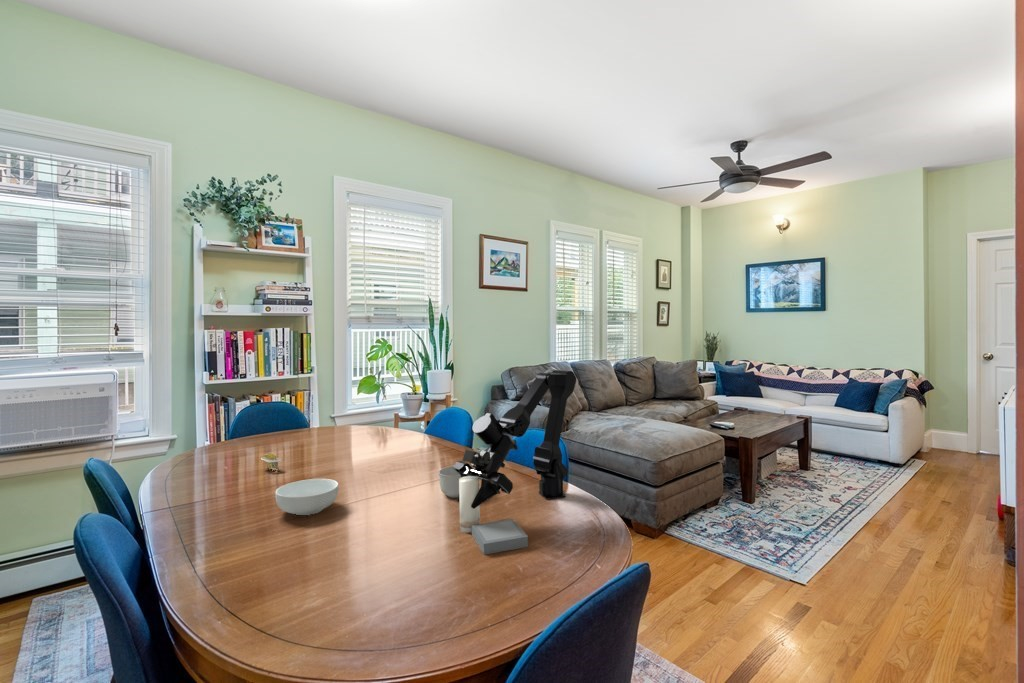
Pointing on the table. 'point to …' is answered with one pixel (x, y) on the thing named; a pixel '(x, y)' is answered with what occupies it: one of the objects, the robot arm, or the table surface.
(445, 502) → the table surface
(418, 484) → the table surface
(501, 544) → the base
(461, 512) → the white cylinder
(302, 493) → the cereal bowl
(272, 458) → the yellow and grey piece
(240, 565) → the table surface
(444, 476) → the teacup
